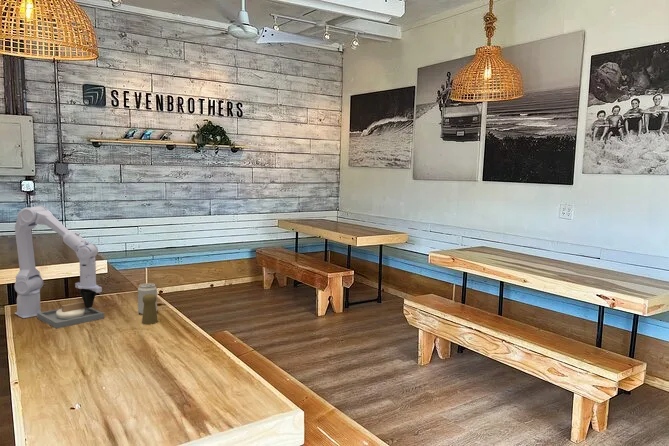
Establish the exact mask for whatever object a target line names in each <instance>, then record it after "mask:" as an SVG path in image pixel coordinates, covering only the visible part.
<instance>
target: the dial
mask: <svg viewBox="0 0 669 446" xmlns="http://www.w3.org/2000/svg"><path fill="white" fill-rule="evenodd" d="M61 308H62V309H61ZM61 308H58V309H59V310H57V311H56V317H57V318H59V319H72V318H78V317H81V316H83V315H85V308H86V307H85V304H84V301H83V300H82V301H79V302H78V301H77V302H74V303H73V302H72V303H68V304H62V305H61Z"/></svg>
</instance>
